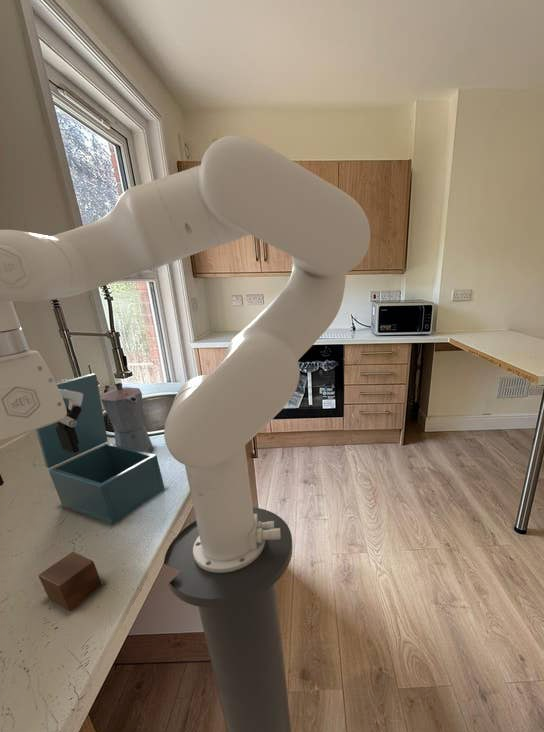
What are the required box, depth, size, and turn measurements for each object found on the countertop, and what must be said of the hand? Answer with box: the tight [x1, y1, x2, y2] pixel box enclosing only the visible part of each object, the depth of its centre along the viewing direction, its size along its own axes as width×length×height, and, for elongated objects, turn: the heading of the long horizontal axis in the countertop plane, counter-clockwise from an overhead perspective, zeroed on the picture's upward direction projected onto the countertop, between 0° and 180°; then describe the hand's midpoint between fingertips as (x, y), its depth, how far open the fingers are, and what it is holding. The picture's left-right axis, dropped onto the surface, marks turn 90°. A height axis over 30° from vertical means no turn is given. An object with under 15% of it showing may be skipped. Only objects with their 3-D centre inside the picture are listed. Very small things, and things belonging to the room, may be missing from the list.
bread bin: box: [48, 442, 165, 526], centre depth 74 cm, size 16×13×9 cm
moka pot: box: [100, 382, 154, 453], centre depth 91 cm, size 10×15×20 cm, turn 60°
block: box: [37, 551, 103, 612], centre depth 52 cm, size 5×5×5 cm
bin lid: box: [35, 373, 108, 469], centre depth 72 cm, size 17×13×5 cm
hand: (36, 465), depth 50 cm, fingers open, 9 cm apart
